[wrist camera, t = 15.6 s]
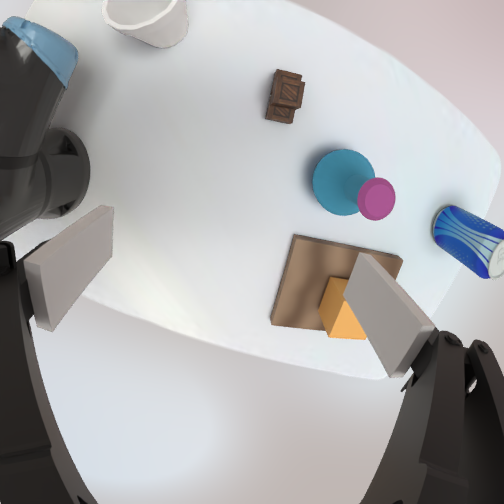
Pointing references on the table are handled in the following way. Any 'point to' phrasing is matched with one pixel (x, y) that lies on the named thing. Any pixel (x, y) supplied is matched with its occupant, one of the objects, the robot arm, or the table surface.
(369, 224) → the table surface
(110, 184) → the table surface
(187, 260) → the table surface
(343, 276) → the post board
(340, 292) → the wooden toy cube
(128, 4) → the foam cup
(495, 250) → the beer can
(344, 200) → the perfume bottle
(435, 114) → the table surface
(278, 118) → the stack of crates
